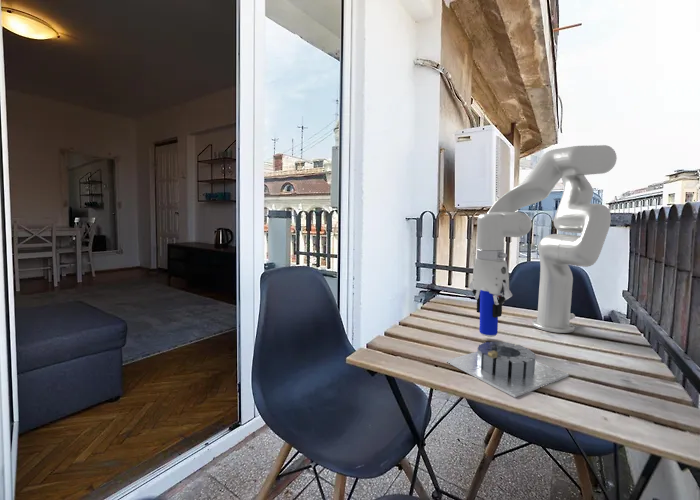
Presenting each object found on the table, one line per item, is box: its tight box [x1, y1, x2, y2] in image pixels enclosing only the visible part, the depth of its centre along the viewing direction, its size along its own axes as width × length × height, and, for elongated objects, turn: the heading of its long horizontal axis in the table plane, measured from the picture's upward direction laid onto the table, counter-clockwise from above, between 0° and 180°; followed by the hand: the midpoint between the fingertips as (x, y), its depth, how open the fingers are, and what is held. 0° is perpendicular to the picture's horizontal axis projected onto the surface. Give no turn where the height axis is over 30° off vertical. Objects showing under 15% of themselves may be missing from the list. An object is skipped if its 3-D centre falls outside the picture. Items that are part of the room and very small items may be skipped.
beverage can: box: [479, 287, 499, 338], centre depth 108 cm, size 5×5×15 cm
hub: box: [445, 341, 570, 399], centre depth 89 cm, size 20×20×5 cm
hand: (488, 313), depth 108 cm, fingers closed on beverage can, 5 cm apart
